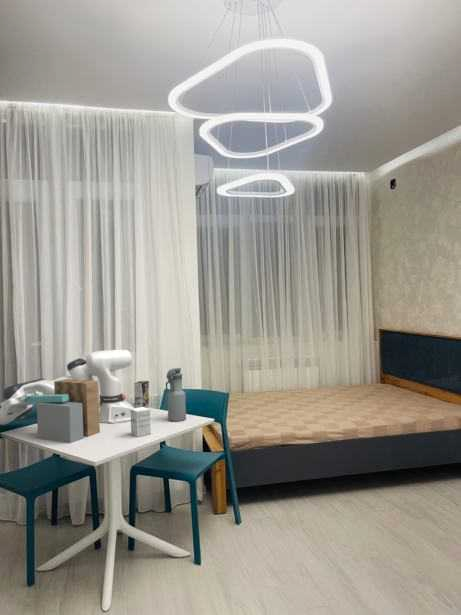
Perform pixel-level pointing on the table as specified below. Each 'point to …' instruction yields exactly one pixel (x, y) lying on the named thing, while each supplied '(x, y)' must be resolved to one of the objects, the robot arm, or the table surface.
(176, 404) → the water bottle
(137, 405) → the coffee box
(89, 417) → the walnut stand
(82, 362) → the robot arm
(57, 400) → the teal batten
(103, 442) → the table surface
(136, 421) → the supplement box
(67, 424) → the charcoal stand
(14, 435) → the table surface
